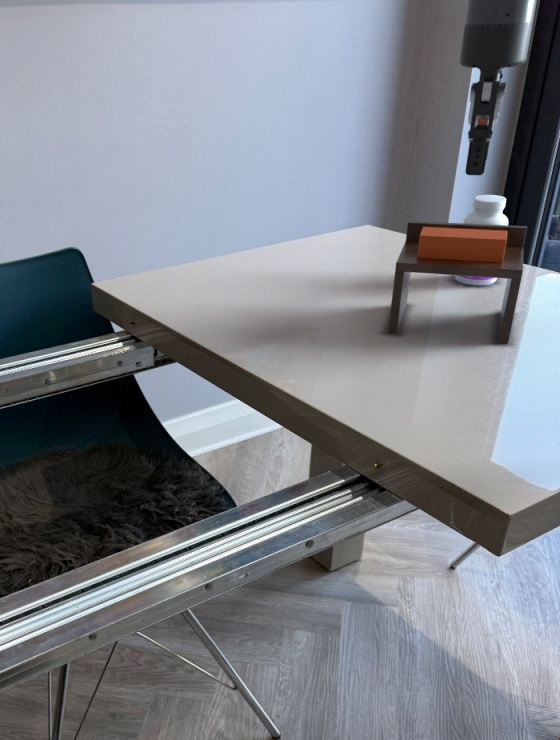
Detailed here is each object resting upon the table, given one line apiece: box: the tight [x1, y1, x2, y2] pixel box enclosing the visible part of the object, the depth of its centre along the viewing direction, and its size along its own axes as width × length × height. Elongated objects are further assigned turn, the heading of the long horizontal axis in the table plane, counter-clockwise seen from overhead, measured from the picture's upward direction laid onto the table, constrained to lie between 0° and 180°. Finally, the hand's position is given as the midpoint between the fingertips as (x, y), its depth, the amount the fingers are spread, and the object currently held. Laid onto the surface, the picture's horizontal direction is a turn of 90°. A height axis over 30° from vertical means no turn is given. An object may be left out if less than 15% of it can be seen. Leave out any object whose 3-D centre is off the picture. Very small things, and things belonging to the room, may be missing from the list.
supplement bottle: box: [454, 194, 509, 287], centre depth 125 cm, size 7×7×13 cm
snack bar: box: [417, 227, 507, 263], centre depth 106 cm, size 11×4×3 cm, turn 70°
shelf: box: [387, 220, 528, 344], centre depth 110 cm, size 16×12×12 cm
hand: (476, 168), depth 100 cm, fingers open, 8 cm apart
